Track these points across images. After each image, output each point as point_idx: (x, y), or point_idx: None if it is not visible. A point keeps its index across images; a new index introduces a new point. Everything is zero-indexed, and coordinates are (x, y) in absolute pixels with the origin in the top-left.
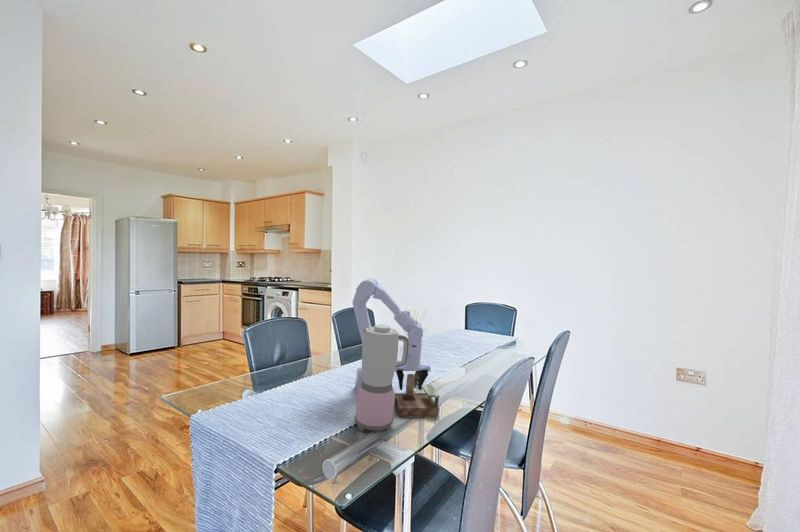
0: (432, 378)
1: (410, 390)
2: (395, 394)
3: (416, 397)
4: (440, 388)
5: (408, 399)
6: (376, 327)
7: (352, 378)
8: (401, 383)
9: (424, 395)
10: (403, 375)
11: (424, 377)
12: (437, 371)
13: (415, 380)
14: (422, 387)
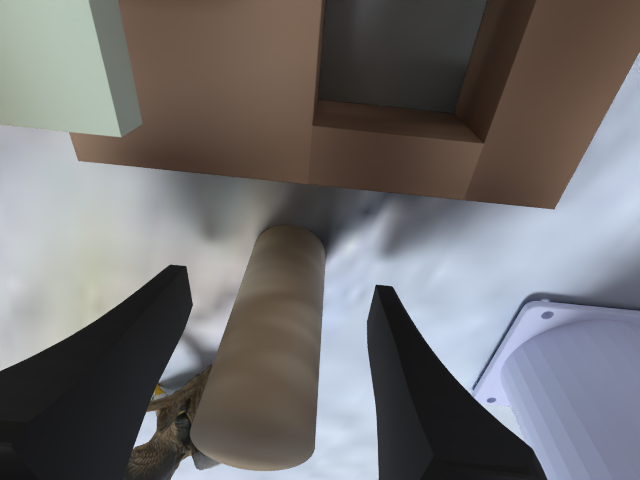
0: None
1: (289, 264)
2: (543, 175)
3: (284, 32)
4: (7, 319)
5: (367, 113)
6: None
7: None
8: (409, 337)
9: (142, 91)
10: (442, 446)
11: (36, 375)
12: None
13: (190, 404)
14: (111, 29)
